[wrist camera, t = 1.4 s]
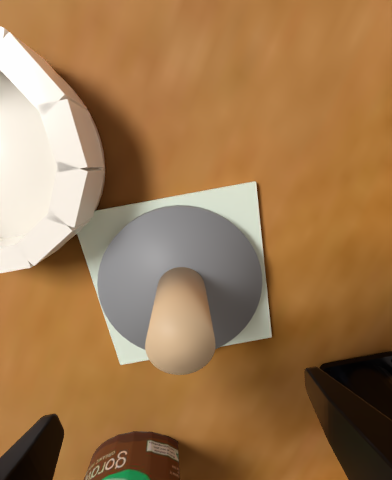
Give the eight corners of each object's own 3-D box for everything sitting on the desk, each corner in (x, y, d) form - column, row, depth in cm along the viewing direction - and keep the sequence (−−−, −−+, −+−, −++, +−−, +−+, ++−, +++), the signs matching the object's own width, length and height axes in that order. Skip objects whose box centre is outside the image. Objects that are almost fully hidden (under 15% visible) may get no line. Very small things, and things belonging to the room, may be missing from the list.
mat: (254, 181, 16) (256, 181, 16) (270, 333, 20) (271, 337, 19) (73, 214, 16) (71, 215, 16) (121, 361, 20) (120, 365, 19)
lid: (249, 190, 16) (292, 206, 10) (264, 332, 19) (304, 413, 13) (81, 221, 16) (15, 257, 10) (125, 358, 19) (96, 451, 13)
